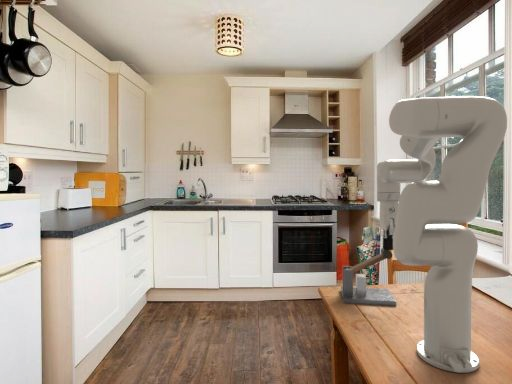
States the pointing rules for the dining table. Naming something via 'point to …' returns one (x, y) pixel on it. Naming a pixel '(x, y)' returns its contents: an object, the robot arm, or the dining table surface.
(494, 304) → the dining table surface
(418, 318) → the dining table surface
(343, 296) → the base
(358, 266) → the lever
